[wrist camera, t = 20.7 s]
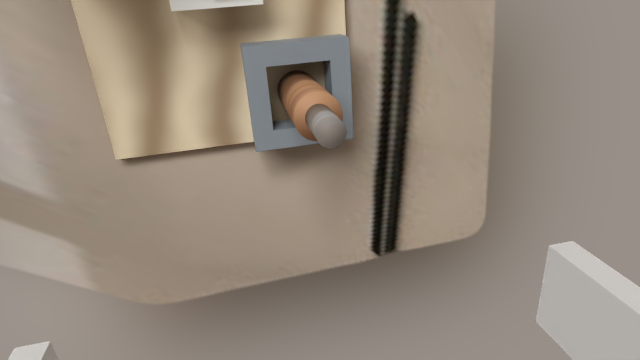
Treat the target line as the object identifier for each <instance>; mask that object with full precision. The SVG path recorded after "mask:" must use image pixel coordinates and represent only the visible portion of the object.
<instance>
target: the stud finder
mask: <svg viewBox="0 0 640 360" xmlns="http://www.w3.org/2000/svg"><path fill="white" fill-rule="evenodd" d="M169 2H170V7H171V11H183V10H196V9H209V8H221V7H234V6H247V5H259V4H263V0H169Z"/></svg>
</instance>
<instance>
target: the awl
mask: <svg viewBox="0 0 640 360" xmlns="http://www.w3.org/2000/svg"><path fill="white" fill-rule="evenodd" d="M278 96H279V98H280V100H281V102H282V104H283V106H284V108H285V109H286V111H287V113H288V115H289V116H290V118H291V120H292V122H293V124H294V125H295V127H296V129H297V131H298V132H299V133H300V134H301V135H302V136H303V137H304V138H306V139H308V140H311V141H318V142H319V144H320V145H321V146H323V147H325V148H335V147H338V146H339V145H341V144H342V143H343V142H344V140H345V138H346V134H347V130H346V126H345V124H344V123H343V122H342V120H343V111H342V107H341V105H340V103H339V102H338V101H337V99H336V98H334V97H333V96H332V95H331V94H330V93H329V92H328V91H327V90H326V89H325V88H323V87H322V86H321V85H320V84H319V83H318V82H317V81H316V80H315V79H313V78H312V77H311V76H310V75H309V74H308V73H306V72H304V71H300V70H294V71H290V72H288V73H286V74H285V75H284V76H283V77H282V78H281V80H280V82H279V84H278Z"/></svg>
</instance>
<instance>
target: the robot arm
mask: <svg viewBox="0 0 640 360" xmlns="http://www.w3.org/2000/svg"><path fill="white" fill-rule="evenodd" d="M536 322H537V323H538V324H539V325H540V326H541V327H542V328H543V329H544V330H545V331H546V332H547V333H548V334H549V335H550V336H551V337H552V338H553V339H554V340H555V341H556V342H557V344H558V345H559V346H560V347H562V349H563V350H564V351H565V352H566V353H567V354H568V355H569V356H570V357H571V358H572V359H573V360H640V287H638V286H637V285H635V284H633V283H632V282H631V281H629V280H628V279H627V278H625V277H624V276H622V275H621V274H619V273H618V272H616V271H615V270H614V269H612V268H611V267H609V266H608V265H607V264H605V263H604V262H602V261H601V260H599V259H598V258H596V257H595V256H594V255H592V254H591V253H589V252H588V251H586V250H585V249H583V248H582V247H581V246H579V245H578V244H576V243H575V242H573V241H570V242H565V243H560V244H555V245H549V249H548V254H547V261H546V266H545V272H544V277H543V283H542V289H541V294H540V301H539V306H538V312H537V318H536ZM8 360H58V358H57V355H56V353H55V351H54V348H53V346H52V344H51V341H48V342H43V343H38V344H33V345H28V346H22V347H17V348H15V349H14V350H13V352H12V354H11V355H10V357H9V359H8Z"/></svg>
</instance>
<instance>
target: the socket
mask: <svg viewBox="0 0 640 360" xmlns="http://www.w3.org/2000/svg"><path fill="white" fill-rule="evenodd" d="M240 46H241V53H242V60H243V67H244V74H245V82H246V89H247V96H248V103H249V110H250V117H251V124H252V132H253V139H254V144H255V149H256V152H259V151H266V150H274V149H281V148H288V147H296V146H303V145H310V144H318V143H319V142H318V141H311V140H308V139H306V138H304V137H303V136H302V135H301V134H300V133H299V132H298V131H297V129H296V127H295V125H294V124H293V122H292V120H291V119H287V120H279V121H272V115H271V106H270V98H269V89H268V81H267V72H266V67H270V66H280V65H289V64H299V63H309V62H318V61H323V65H324V81H325V89H326V90H327V91H328V92H329V93H330V94H331V95H332V96H333V97H334V98H336V99H337V101H338V102H339V103H340V105H341V107H342V111H343V120H342V122H343V123H344V124H345V126H346V130H347V134H346V138H345V140H347V139H353V115H352V90H351V65H350V40H349V37H348V36H345V35H342V34H335V35H325V36H314V37H303V38H293V39H282V40H272V41H261V42H250V43H240Z"/></svg>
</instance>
